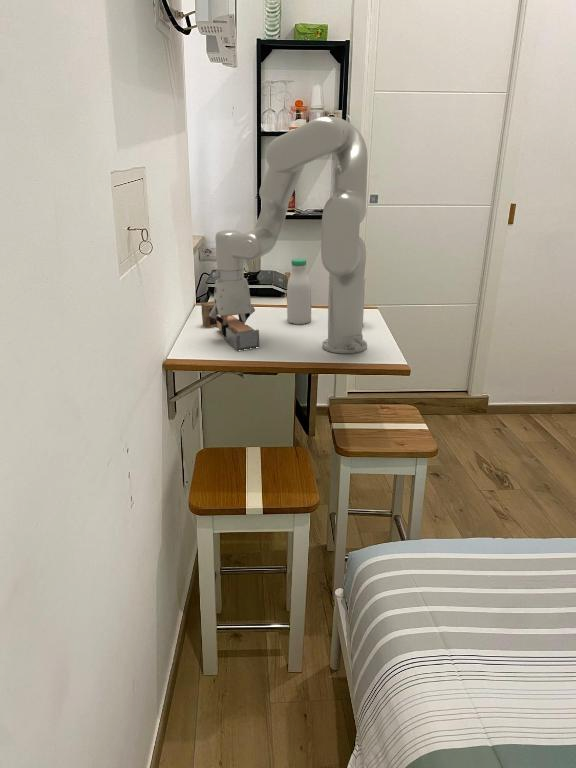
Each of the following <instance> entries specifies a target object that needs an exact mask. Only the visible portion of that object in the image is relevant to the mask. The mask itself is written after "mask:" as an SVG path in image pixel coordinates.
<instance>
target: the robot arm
mask: <svg viewBox="0 0 576 768" xmlns="http://www.w3.org/2000/svg"><path fill="white" fill-rule="evenodd" d="M367 148H368V147H367V144H366V140H365V138H364V136H363V135H362V133H361V132H360V131H359V128H357V127H355V126H354V125H353V124H352V123H350V122H349V121H347V120H345V119H343V118H341V117H337V116H319V117H316V118H313V119H312V120H309V121H308V122H306V123H304V124H302V125H300V126H298V127H296V128H294V129H292V130H290V131H287V132H286V133H284V134H281V135H279V136H276V137H275V138H274V139H273V140H272V141H271V142H270V143H269V144H268V146H267V149H266V152H265V155H266V156H265V158H266V162H267V165H268V167H267V170H266V172H265V174H264V178H263V179H262V182H261V185H260V186H259V187H260V188H259V192H258V193H259V197H260V200H261V209H260V213H259V216H258V219H257V221H256V223H255V226H254V228H253V230H250V231H248V232H244V233H243V232H242V233H241V231H239V230H234V229H226V230H220V231H217V232H216V234H215V255H216V256H215V257H216V271H215V272H213V273H212V277H213V278H216V280H215V283H214V292H213V301H214V307H213V308H212V310H211V312H210V314H209V316H210V317H212V318H214V319H216V320H217V321H219V322H220V323H221V327H222V331H221V335H222V336H223V337H224V338H226V328H228V325H227V317H228V316H231V315H232V316H237V317H238V320H240V321H241V322H243V323H244V324H245V325H246V323H247V320H248V319H249V317H250V316H251V315H252V314H254V313H255V312H256V309H255V307H254V306H253V304H252V303H251V302H252V301H251V294H250V293H251V292H250V288H249V282H248V278H245V274H244V273H245V270H244V260H247V261H256V260H258V259H260V258H262V257H263V256H265V255H267V254H268V253H270V252H271V251H272V250H273V249H274V247H275V246H276V244H277V241H278V238H279V236H280V234H281V232H282V229H283V226H284V224H285V220H286V218H287V217H286V216H287V214H288V213H287V212H288V211H289V210H288V209H289V203H290V201H291V198H292V196H293V194H294V191H295V189H296V187H297V184H298V182H299V180H300V177H301V175H302V172H303V170H304V167H305V165H307V164H309V163H311V162H314V161H315V160H317V159H320V158H322V157H324V156H326V155H329V154H330V155H331V154H332V155H333V157H334V166H333V167H334V168H333V169H334V170H333V189H332V195H331V196H330V197H329V198H328V199H327V201H326V203H325V204H324V207H323V211H322V216H321V240H320V242H321V245H320V247H321V248H320V256H321V258H320V259H321V262H322V265H323V266H324V267H323V268H324V269H325V270H326V271H327V272H328V273H329V275H328V276H329V277H328V295H327V296H328V299H327V301H328V304H327V305H328V311H327V313H328V314H327V338H325V339H324V340H323V341H322V343H321V345H322V346H321V347H322V348H323V349H324V350H325V351H327V352H330V353H333V354H334V353H335V354H342V355H343V354H346V355H347V354H356V353H360V352H363V351H365V350H366V349H367V348H368V343H367V341H366V340H364V339H363V337H364V336H363V328H362V316H363V317H364V313H363V293H364V278H365V271H366V262H367V261H366V260H367V249H366V244H365V242H364V240H363V239H362V237H361V236H360V226H361V223H362V222H363V221H364V218H366V214H367V191H368V190H367V189H368V188H367V187H368V149H367ZM364 294H365V293H364ZM216 313H218V314H219V315H220V317H219V316H217V315H216ZM226 339H227V338H226Z"/></svg>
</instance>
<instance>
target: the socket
mask: <svg viewBox="0 0 576 768" xmlns="http://www.w3.org/2000/svg"><path fill="white" fill-rule="evenodd" d="M200 304H201V305H200V306H201V318H202V319H201V321H202V326H203V327H205V328H206V329H209V328H217V322H216V319H214V318H212V317H210V316H209V314H210V312H211V310H212V308H213V307H214V300H213V301H206V302H201V303H200ZM216 314H218V313H216Z"/></svg>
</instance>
